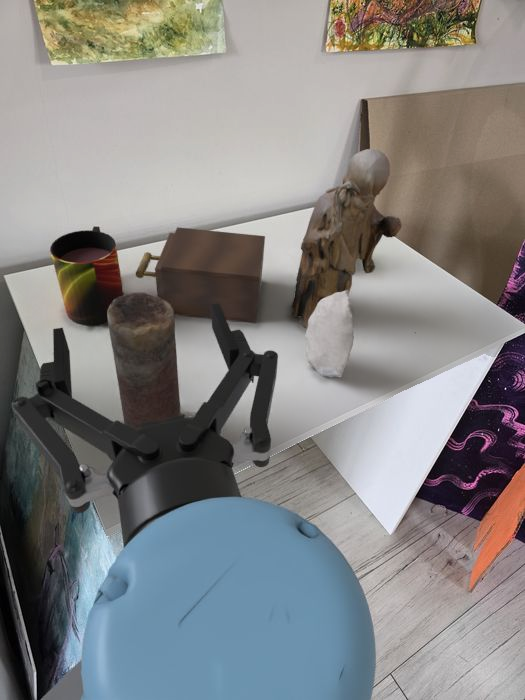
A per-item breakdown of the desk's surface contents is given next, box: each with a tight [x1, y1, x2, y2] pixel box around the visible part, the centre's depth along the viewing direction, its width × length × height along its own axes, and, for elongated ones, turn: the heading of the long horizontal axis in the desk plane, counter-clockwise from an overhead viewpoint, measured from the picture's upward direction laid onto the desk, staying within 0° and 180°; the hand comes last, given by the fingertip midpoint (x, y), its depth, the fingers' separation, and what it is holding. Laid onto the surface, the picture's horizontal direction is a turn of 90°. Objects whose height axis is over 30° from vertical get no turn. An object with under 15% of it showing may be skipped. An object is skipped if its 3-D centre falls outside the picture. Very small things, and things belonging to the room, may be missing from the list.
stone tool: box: [304, 290, 355, 378], centre depth 71 cm, size 9×3×15 cm, turn 41°
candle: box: [107, 292, 182, 430], centre depth 60 cm, size 8×7×20 cm
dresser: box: [161, 226, 266, 324], centre depth 85 cm, size 16×13×10 cm
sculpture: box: [291, 148, 403, 329], centre depth 76 cm, size 16×11×30 cm
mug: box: [49, 225, 125, 327], centre depth 81 cm, size 10×14×12 cm
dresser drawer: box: [134, 232, 175, 300], centre depth 85 cm, size 19×11×8 cm, turn 86°
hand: (141, 327), depth 44 cm, fingers open, 13 cm apart
